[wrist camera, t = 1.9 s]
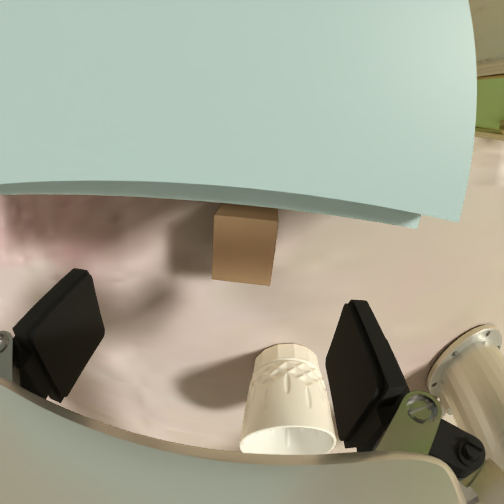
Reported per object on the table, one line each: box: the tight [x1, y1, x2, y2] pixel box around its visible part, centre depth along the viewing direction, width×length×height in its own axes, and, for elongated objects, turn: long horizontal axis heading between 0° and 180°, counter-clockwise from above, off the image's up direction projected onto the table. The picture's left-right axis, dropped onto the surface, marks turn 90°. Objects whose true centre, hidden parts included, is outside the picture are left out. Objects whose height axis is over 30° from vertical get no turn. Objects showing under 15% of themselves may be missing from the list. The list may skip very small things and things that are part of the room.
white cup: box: [239, 343, 336, 455], centre depth 23 cm, size 8×8×10 cm
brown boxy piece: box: [212, 203, 279, 286], centre depth 17 cm, size 13×4×6 cm, turn 175°
